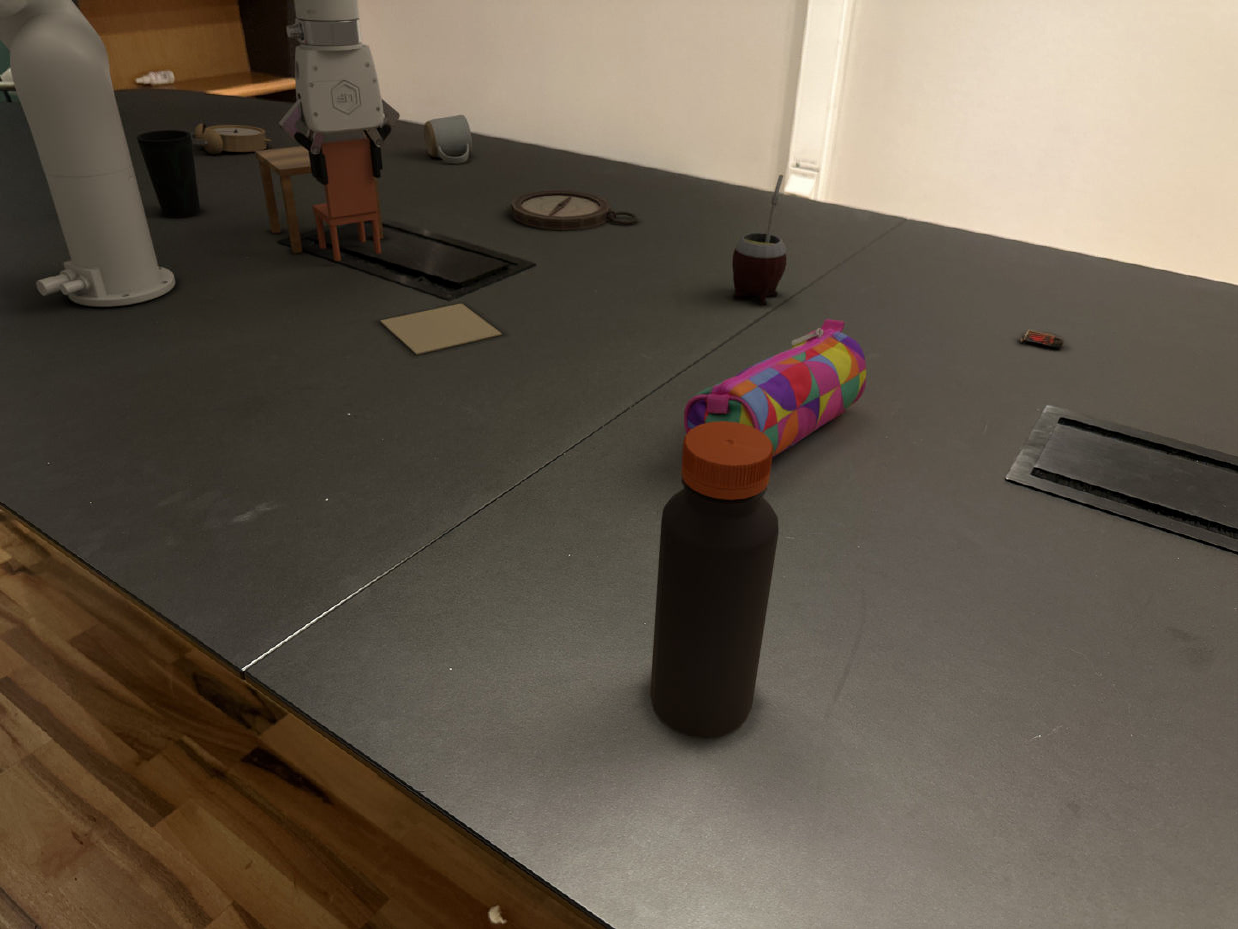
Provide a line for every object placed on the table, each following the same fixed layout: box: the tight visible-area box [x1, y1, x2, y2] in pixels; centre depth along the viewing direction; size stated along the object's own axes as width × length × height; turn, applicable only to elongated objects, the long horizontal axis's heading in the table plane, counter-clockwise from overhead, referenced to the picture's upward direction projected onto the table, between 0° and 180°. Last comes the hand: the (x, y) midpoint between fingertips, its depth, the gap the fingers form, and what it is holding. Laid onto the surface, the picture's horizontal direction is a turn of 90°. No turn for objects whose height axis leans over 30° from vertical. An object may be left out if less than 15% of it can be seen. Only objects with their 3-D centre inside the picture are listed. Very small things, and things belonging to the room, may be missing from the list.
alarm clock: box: [190, 123, 272, 155], centre depth 180 cm, size 11×5×15 cm
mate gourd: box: [731, 174, 787, 306], centre depth 118 cm, size 8×8×15 cm
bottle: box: [649, 421, 779, 739], centre depth 54 cm, size 7×7×20 cm
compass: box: [510, 189, 638, 231], centre depth 149 cm, size 20×16×2 cm
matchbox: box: [1019, 329, 1065, 349], centre depth 111 cm, size 5×5×1 cm
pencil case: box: [683, 318, 867, 459], centre depth 88 cm, size 22×9×9 cm, turn 141°
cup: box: [136, 129, 201, 219], centre depth 142 cm, size 8×8×12 cm
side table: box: [254, 145, 384, 254], centre depth 135 cm, size 12×14×12 cm
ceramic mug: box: [423, 114, 473, 165], centre depth 178 cm, size 11×8×8 cm
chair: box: [312, 136, 382, 262], centre depth 126 cm, size 7×7×16 cm
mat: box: [379, 303, 502, 356], centre depth 110 cm, size 11×11×1 cm
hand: (348, 177), depth 122 cm, fingers closed on chair, 6 cm apart
